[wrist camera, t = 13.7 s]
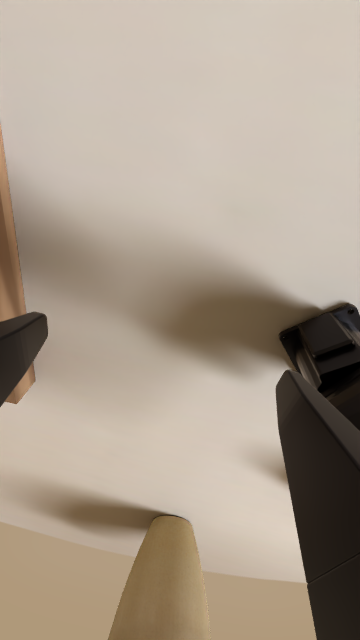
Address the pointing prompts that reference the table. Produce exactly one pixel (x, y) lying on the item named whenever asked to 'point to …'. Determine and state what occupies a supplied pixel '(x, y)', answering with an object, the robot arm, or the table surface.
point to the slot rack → (10, 272)
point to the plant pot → (164, 588)
